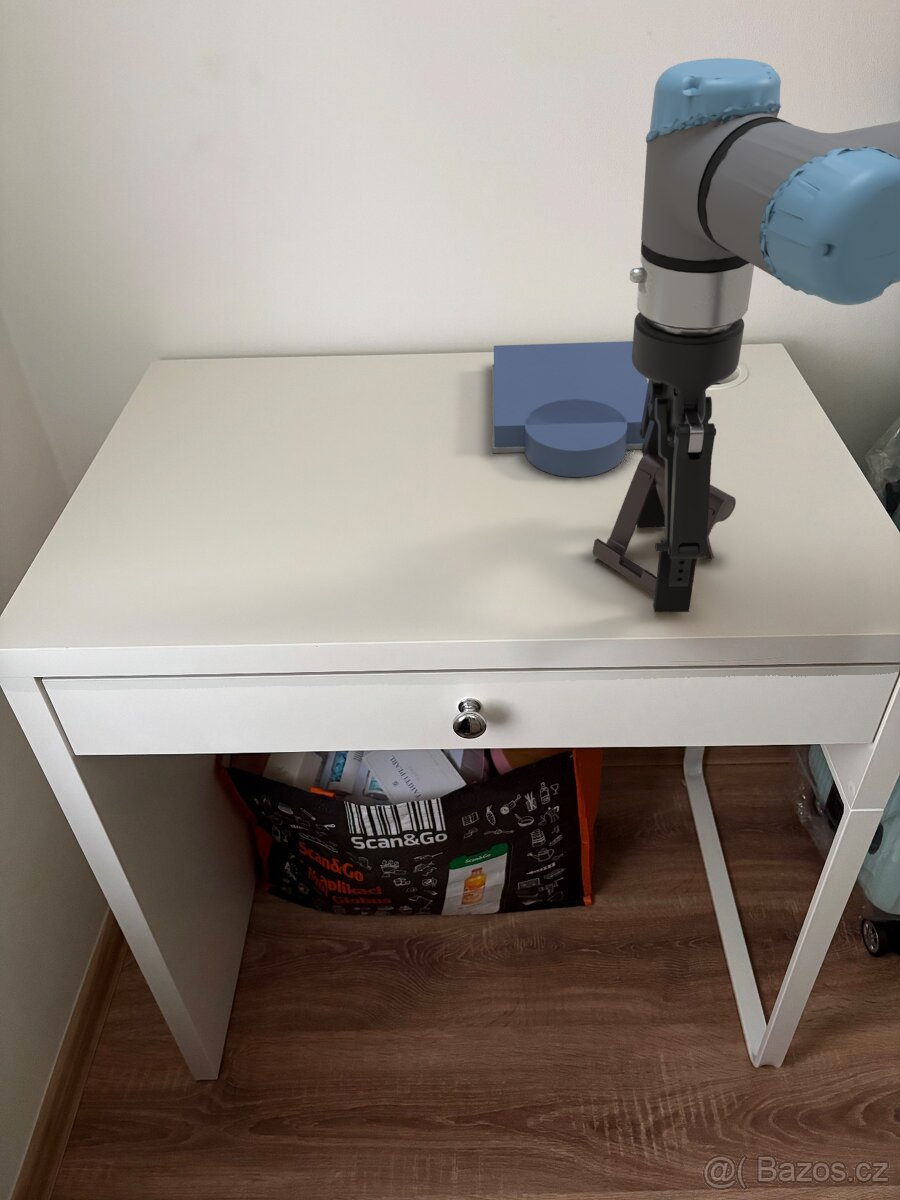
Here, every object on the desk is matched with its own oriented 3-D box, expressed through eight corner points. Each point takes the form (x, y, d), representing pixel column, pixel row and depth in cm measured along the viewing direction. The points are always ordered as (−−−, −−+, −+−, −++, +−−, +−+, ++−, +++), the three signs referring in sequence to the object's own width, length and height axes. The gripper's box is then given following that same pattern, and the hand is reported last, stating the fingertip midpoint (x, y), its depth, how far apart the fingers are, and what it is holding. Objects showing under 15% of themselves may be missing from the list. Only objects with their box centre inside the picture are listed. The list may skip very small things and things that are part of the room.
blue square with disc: (664, 475, 92) (667, 448, 90) (492, 479, 93) (492, 452, 91) (636, 364, 110) (638, 340, 108) (492, 369, 111) (491, 344, 109)
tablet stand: (590, 559, 83) (595, 477, 77) (655, 524, 86) (663, 443, 81) (666, 610, 77) (677, 525, 72) (732, 571, 81) (747, 487, 75)
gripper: (618, 255, 76) (603, 489, 90) (657, 394, 58) (631, 660, 72) (714, 252, 76) (684, 487, 90) (784, 391, 58) (733, 658, 72)
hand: (661, 564), depth 81 cm, fingers closed on tablet stand, 11 cm apart
